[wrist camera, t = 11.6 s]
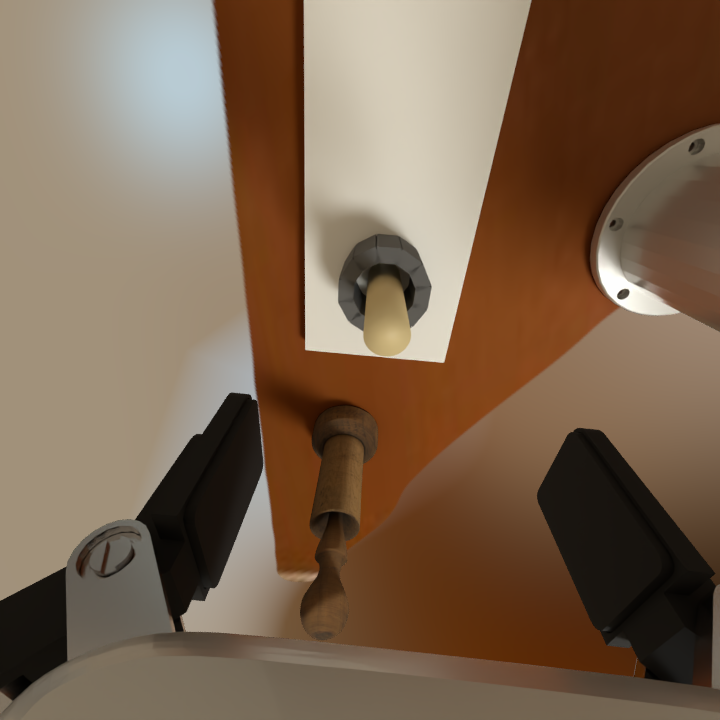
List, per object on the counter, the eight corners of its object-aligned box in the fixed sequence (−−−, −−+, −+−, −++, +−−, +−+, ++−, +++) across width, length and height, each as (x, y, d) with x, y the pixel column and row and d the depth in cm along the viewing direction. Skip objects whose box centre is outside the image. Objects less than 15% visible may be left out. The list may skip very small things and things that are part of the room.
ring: (429, 238, 24) (438, 251, 21) (416, 316, 27) (422, 338, 24) (345, 231, 24) (340, 243, 21) (341, 309, 27) (336, 331, 24)
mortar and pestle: (367, 398, 33) (359, 604, 18) (384, 445, 37) (389, 655, 21) (305, 412, 35) (247, 615, 19) (327, 456, 38) (291, 661, 22)
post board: (531, -32, 18) (712, -259, 8) (441, 354, 30) (471, 447, 21) (308, -53, 18) (226, -304, 8) (308, 341, 30) (275, 429, 21)
